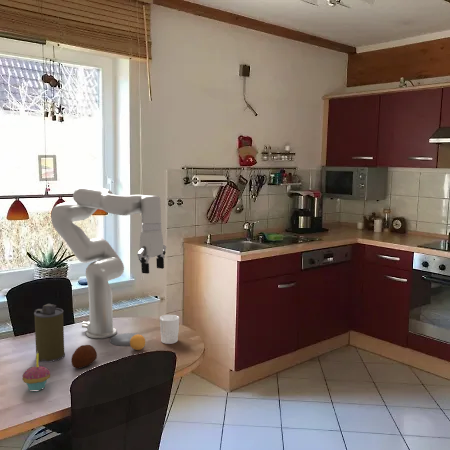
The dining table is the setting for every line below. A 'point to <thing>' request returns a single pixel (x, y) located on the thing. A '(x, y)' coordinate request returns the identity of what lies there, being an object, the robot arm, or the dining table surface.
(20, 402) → the dining table surface
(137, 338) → the ball
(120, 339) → the disc
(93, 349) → the potato
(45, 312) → the canister
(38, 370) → the cupcake
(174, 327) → the white cup
